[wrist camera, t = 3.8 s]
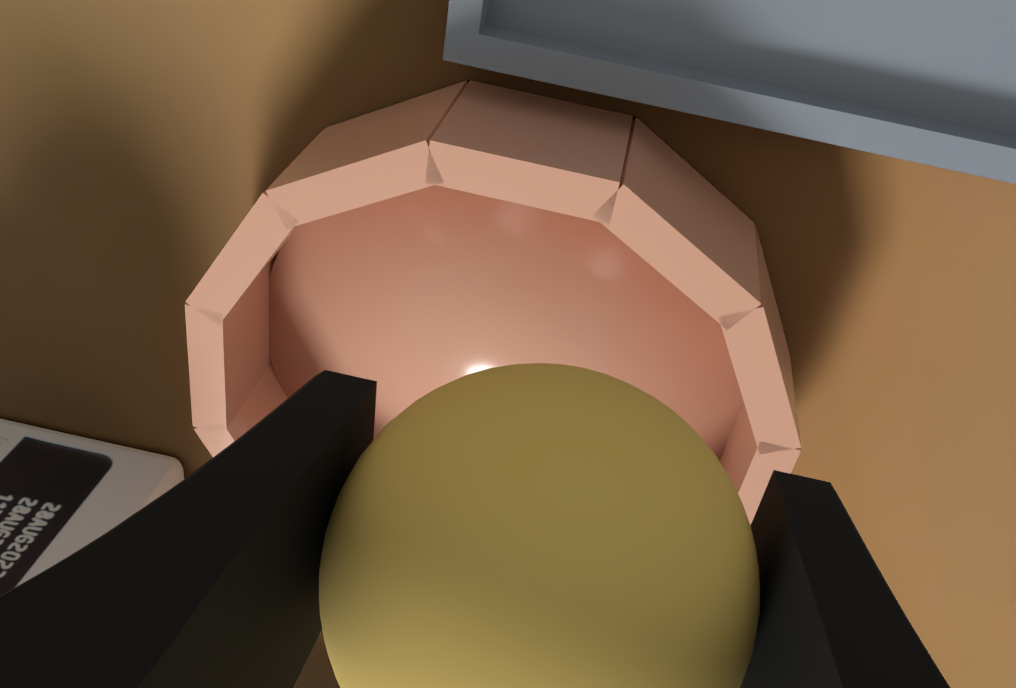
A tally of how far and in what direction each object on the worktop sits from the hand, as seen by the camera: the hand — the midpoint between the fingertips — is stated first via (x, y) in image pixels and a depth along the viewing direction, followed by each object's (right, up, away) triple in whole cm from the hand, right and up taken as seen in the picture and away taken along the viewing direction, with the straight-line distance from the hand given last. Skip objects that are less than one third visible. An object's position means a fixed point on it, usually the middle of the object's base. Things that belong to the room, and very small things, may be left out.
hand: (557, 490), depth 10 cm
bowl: (-1, +2, +11) cm, 11 cm away
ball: (0, +1, +1) cm, 1 cm away
